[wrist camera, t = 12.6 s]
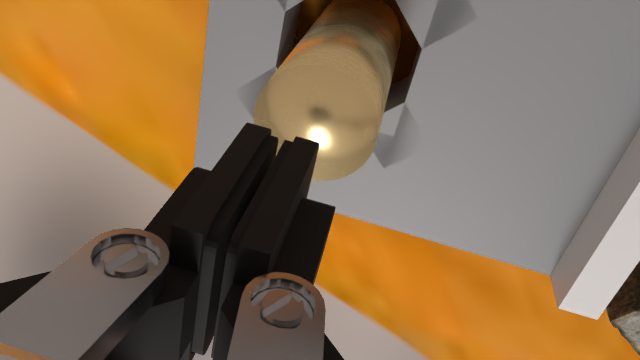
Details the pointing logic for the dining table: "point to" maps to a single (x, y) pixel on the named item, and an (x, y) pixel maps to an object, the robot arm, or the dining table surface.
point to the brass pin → (335, 85)
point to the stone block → (627, 309)
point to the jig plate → (477, 131)
